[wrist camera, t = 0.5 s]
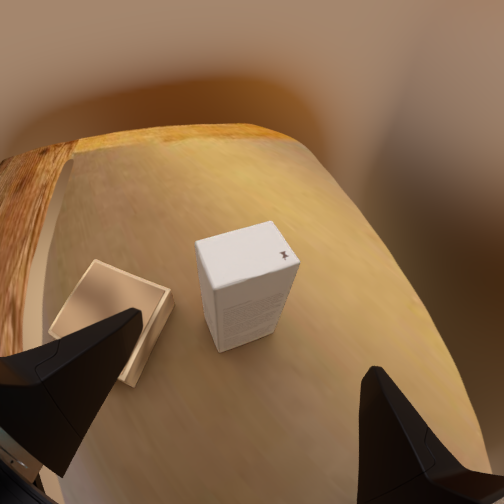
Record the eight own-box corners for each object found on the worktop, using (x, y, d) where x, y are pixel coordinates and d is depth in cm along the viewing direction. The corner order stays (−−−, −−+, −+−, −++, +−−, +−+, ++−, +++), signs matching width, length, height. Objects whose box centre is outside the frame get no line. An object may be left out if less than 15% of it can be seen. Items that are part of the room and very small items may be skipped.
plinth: (134, 388, 21) (123, 380, 19) (61, 343, 22) (46, 332, 20) (175, 304, 27) (170, 288, 25) (103, 274, 29) (94, 258, 26)
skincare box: (256, 299, 29) (274, 218, 20) (274, 333, 27) (304, 262, 17) (202, 318, 27) (192, 239, 18) (217, 354, 25) (213, 291, 15)
